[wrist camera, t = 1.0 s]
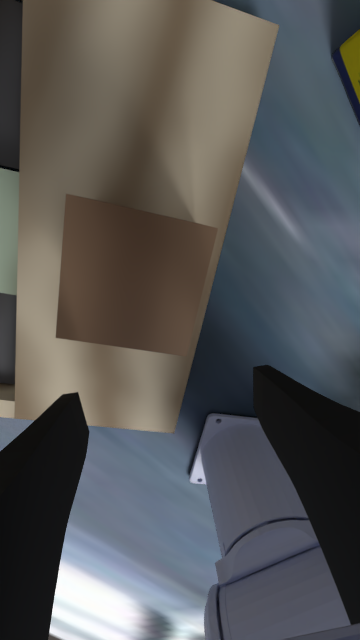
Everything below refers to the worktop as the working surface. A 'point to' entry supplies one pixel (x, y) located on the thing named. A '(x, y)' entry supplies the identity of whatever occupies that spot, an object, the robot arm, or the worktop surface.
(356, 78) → the supplement box
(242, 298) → the worktop surface
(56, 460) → the robot arm
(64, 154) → the trap deck
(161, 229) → the walnut block
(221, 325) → the worktop surface
